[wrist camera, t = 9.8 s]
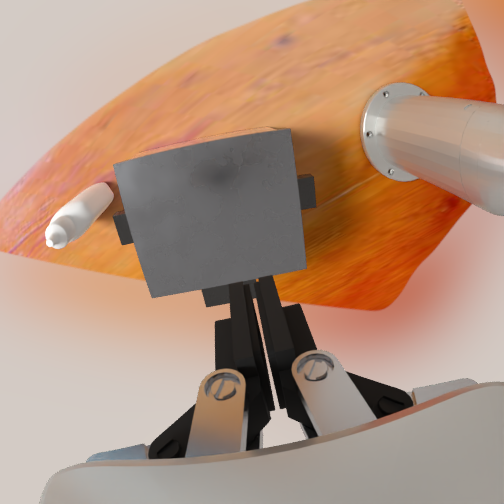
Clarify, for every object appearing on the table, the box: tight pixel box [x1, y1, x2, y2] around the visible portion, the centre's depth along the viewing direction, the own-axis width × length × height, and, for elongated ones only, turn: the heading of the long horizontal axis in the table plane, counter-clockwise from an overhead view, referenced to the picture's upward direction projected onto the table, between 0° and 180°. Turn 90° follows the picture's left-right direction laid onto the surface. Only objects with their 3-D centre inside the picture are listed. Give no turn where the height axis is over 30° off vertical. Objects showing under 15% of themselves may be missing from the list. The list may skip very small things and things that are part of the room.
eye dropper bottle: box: [45, 182, 114, 249], centre depth 28 cm, size 4×6×12 cm
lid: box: [113, 128, 307, 307], centre depth 27 cm, size 15×15×1 cm
